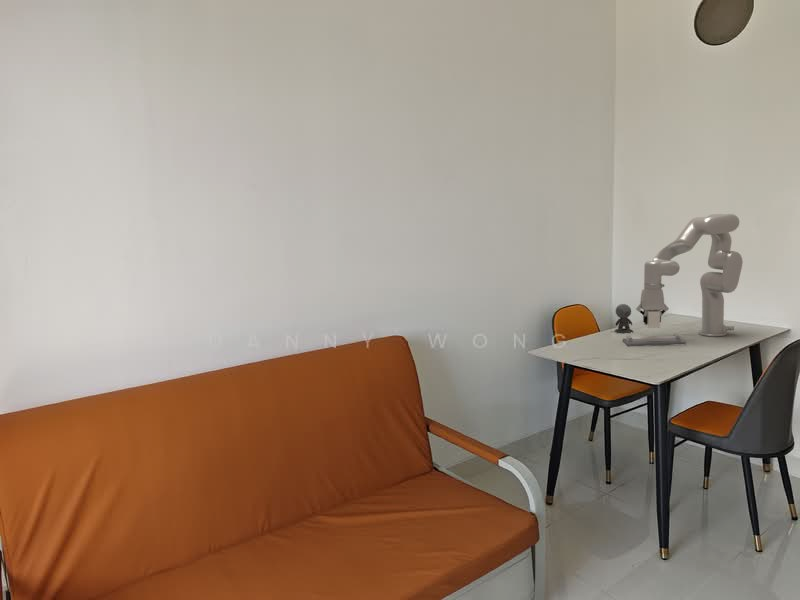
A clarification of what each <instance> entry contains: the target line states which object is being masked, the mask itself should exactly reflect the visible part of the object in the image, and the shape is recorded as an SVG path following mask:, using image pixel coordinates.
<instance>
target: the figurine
mask: <svg viewBox="0 0 800 600" xmlns="http://www.w3.org/2000/svg"><path fill="white" fill-rule="evenodd" d="M615 315H616V316H617V317H618V318H619V319H618V320H617V321H616V322H615V326H616V327H617V326H618V327H617V328H616V329H615V330H614V332H615V333H616V334H624V333H628V334H631V332H632V333H634V331H633V329H631V328H630V326H633V323H632V321H631V319H629V317H630V316H631V315H632V309H631V307H630V306H629V305H628V304H625V303H621V304H618V305H617V307H616V308H615Z"/></svg>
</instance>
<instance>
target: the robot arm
mask: <svg viewBox="0 0 800 600" xmlns="http://www.w3.org/2000/svg"><path fill="white" fill-rule="evenodd" d="M739 225H740V219H739V217H738V216H737V215H736V214H734V213H724V214H722V213H717V214H709V215H707V216H699V217H694V218H692V219H690V220H689V222H688V223H687V224H686V225H685V227H684V228H683V229H682V230H681V232H680V233H679V235H678V236H677V238H676V239H674V240H673V241H672V242H670V243H669V244H668V245H665V247H663V248H662V249H660V251H659V252H658V253H657V254H656V255H655V256H654V258H653V259H652V260H651V261H646V262H645V263H644V266H643V267H644V275H643V281H644V284H643V289H641V293H640V294H641V295H640V301H639V302H640V303H639V304H638V306H637V307H636V308H635V310H636V311H638V312H639V313H640V314H642V316H643V317H642V318H643V319H642V320H643V324H644V323H645V324H647V312H648V310H657V311H659V312H660V323H661V322H662V316H663V315H664V314H665V313H666V312H667V311H668V310H669V309H670V308H669V307H668V306H667V304H666V303H665V297H664V291H663V288H664V287H665V284H664V283H662V276H665V277H672V276H675V275H677V274H678V273H679V272H680V264H679V263H678V262H677V261H676V260H672V259H673V258H676V257H677V256H679V255H682V254H685V253H687V252H691V251H692V249H693V248H694V247H695V245H696V244H697V243H698V242H699V240H700V239H701V238H702V236H704V235H705V236H706V235H707V236H710V237H711V246H710V249H709V255H708V260H707V265H708V267H709V268H710V269H713V270H719V271H708V272H704V273H703V274H702V276H701V277H700V279H699V284H700V285H699V286H700V290H701V301H702V302H701V304H702V305H701V329H700V330H698V332H697V333H698V334H699V335H701V336H706V337H725V336H727V335H728V331H735V326H734V325H733V326H730V325H725V323H724V315H725V312H724V311H725V310H724V309H725V299H724V295H723V293H726V294H731V293H732V292H734V291H736V289H737V288H738V285H739V281H740V276H741V272H742V268H743V262H744V261H743V257H742V255H741V254H740V253H739V252H738V251H734V250H731V248H732V236H731V233H732V232H734V231H736V230H737V228H738V227H739ZM720 271H722V272H720Z"/></svg>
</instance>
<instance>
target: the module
mask: <svg viewBox="0 0 800 600" xmlns="http://www.w3.org/2000/svg"><path fill="white" fill-rule="evenodd" d="M660 323H661V322H660V312H659V311H657V310H648V312H647V324H645V323H644V322H643V325H644V326H647V328H648V329H659V328H661V324H660Z"/></svg>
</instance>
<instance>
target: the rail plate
mask: <svg viewBox="0 0 800 600" xmlns="http://www.w3.org/2000/svg"><path fill="white" fill-rule="evenodd" d="M625 337H626V338H622V342H623V341H624V342H625V343H626V344H625V343H624V342H623V343H624V344H625V345H626V346H627V347H642V346H643V345H651V346H670V345H669V344H685V345H686V341H684V340H683V339H681V335H680V334H678V333H673V335H659V336H631V335H626V336H625ZM643 347H644V346H643Z"/></svg>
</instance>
